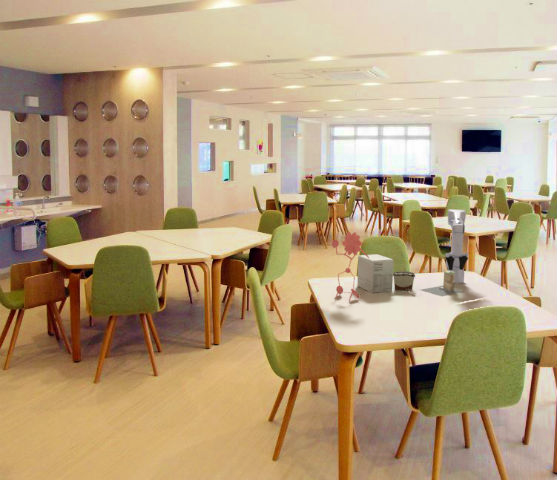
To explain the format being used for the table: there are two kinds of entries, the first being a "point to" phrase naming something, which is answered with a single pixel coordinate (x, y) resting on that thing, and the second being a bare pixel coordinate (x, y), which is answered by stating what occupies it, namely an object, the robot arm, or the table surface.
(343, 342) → the table surface
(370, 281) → the supplement box
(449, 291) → the mat
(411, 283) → the food container
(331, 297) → the table surface
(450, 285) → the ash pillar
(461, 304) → the table surface
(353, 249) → the figurine
